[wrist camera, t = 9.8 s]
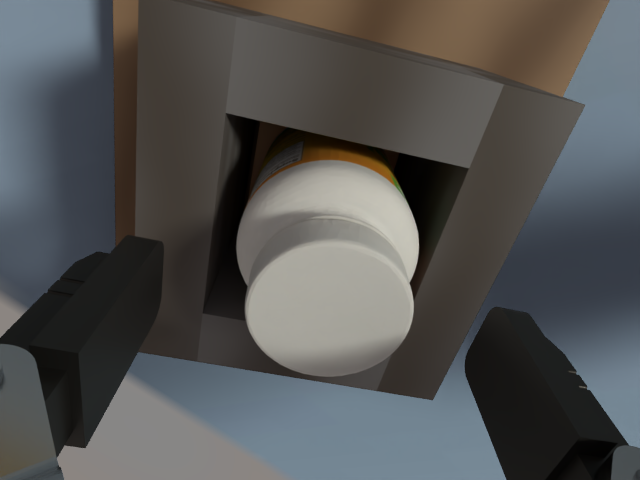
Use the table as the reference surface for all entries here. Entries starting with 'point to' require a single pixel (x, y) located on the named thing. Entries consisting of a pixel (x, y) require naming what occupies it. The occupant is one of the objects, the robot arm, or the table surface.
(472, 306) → the collar block
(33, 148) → the table surface
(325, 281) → the supplement bottle
